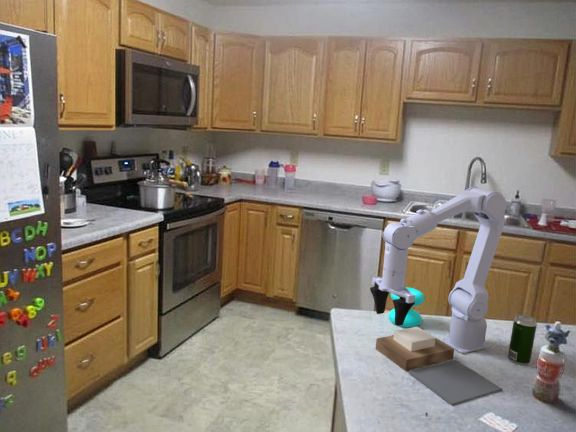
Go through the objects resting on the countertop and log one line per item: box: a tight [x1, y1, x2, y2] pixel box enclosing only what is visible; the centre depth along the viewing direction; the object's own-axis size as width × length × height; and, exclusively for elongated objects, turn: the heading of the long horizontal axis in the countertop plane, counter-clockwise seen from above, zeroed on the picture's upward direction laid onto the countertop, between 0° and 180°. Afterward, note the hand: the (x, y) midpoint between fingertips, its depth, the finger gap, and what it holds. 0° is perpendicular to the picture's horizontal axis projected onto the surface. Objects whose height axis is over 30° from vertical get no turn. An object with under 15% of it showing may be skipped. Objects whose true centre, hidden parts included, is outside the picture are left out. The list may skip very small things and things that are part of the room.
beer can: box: [507, 314, 537, 366], centre depth 120 cm, size 5×5×12 cm
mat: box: [408, 359, 503, 406], centre depth 109 cm, size 16×14×1 cm
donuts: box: [388, 286, 425, 328], centre depth 141 cm, size 10×10×10 cm
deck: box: [375, 334, 455, 372], centre depth 121 cm, size 16×12×3 cm
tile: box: [393, 326, 437, 351], centre depth 121 cm, size 8×7×2 cm
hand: (389, 318), depth 121 cm, fingers open, 7 cm apart
